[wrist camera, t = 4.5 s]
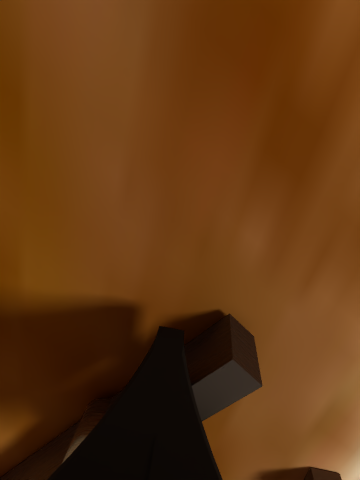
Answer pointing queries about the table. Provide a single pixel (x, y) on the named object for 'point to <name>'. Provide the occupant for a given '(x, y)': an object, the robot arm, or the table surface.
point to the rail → (322, 475)
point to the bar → (202, 380)
